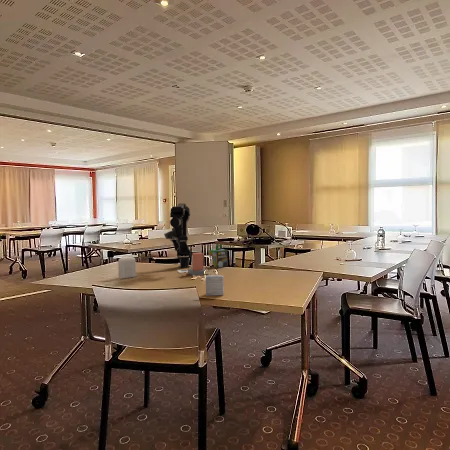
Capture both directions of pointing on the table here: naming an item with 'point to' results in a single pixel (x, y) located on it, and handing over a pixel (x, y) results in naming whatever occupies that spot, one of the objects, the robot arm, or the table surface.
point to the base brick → (196, 272)
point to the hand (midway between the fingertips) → (178, 251)
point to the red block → (197, 261)
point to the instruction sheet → (182, 271)
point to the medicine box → (214, 285)
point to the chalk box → (219, 257)
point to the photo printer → (127, 267)
